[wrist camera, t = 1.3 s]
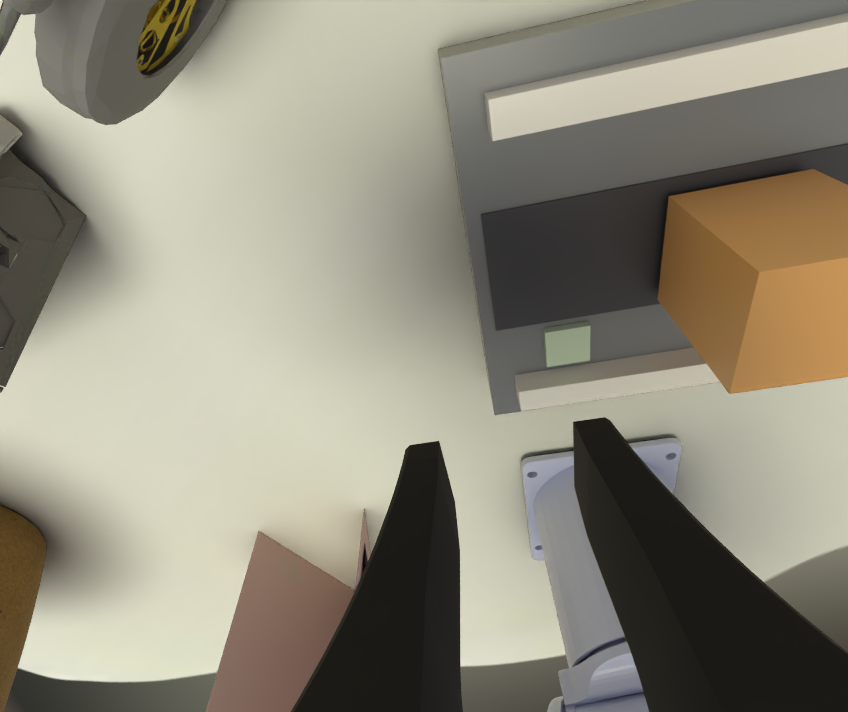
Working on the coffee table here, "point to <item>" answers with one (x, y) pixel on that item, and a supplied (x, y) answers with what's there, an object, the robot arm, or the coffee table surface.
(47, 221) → the electrical switch
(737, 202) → the block
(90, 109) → the pocket watch
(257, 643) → the greeting card
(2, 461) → the coffee table surface
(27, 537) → the plant pot
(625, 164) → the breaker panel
